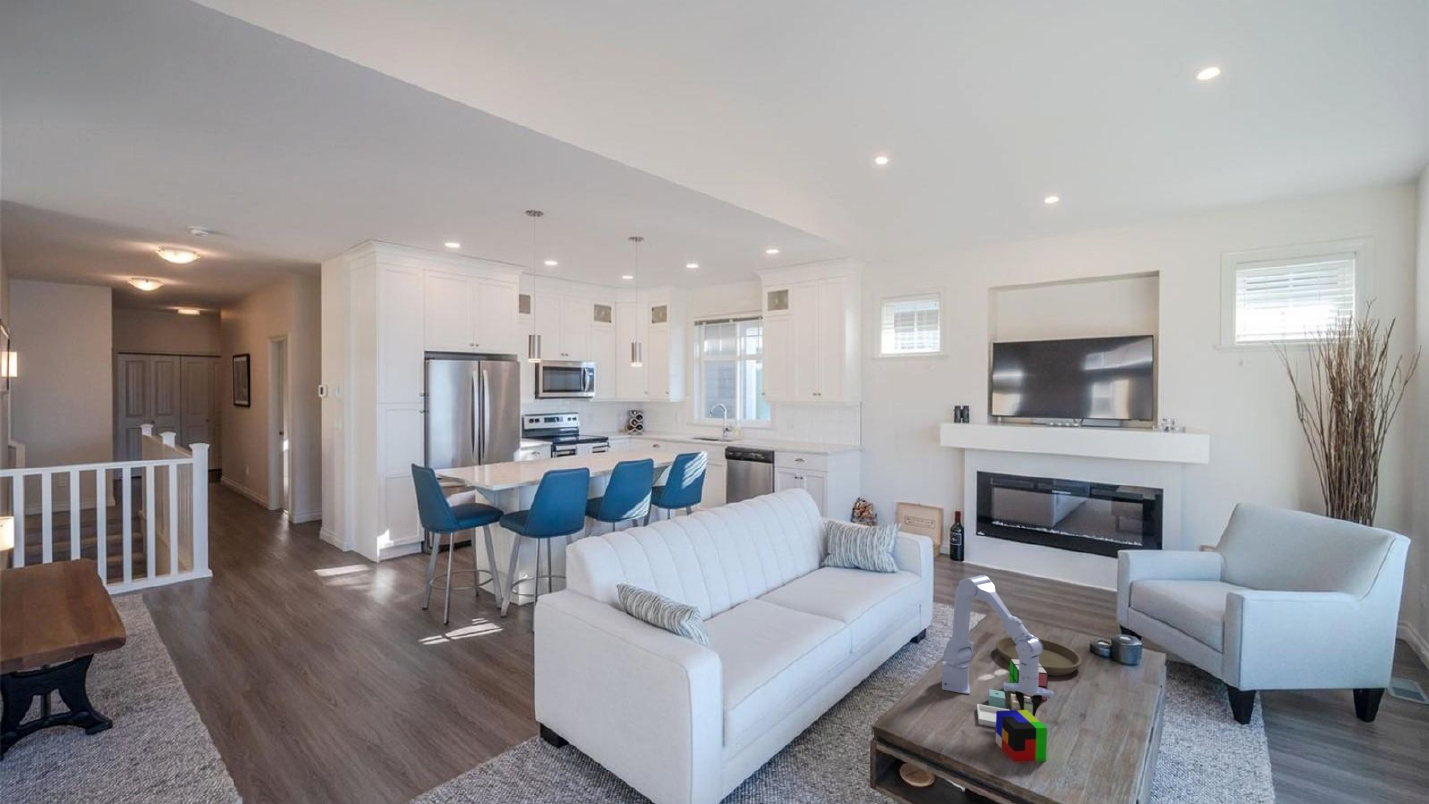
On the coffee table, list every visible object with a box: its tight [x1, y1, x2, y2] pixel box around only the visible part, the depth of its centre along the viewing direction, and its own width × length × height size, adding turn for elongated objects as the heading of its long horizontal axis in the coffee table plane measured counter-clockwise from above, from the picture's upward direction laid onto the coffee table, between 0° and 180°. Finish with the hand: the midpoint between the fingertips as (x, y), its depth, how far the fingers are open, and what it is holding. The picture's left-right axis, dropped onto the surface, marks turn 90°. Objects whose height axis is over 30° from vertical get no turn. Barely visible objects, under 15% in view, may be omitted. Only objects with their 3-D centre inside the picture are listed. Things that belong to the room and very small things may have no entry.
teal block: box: [987, 688, 1006, 709], centre depth 212 cm, size 5×5×4 cm
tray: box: [976, 703, 1010, 728], centre depth 202 cm, size 10×10×2 cm
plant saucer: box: [995, 636, 1083, 676], centre depth 247 cm, size 31×31×5 cm
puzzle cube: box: [1008, 659, 1049, 701], centre depth 220 cm, size 10×10×10 cm
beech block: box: [1010, 693, 1030, 710], centre depth 208 cm, size 6×6×4 cm
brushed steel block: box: [1024, 698, 1033, 715], centre depth 199 cm, size 3×3×8 cm
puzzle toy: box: [995, 709, 1048, 763], centre depth 184 cm, size 10×10×10 cm
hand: (1027, 715), depth 199 cm, fingers closed on brushed steel block, 2 cm apart
